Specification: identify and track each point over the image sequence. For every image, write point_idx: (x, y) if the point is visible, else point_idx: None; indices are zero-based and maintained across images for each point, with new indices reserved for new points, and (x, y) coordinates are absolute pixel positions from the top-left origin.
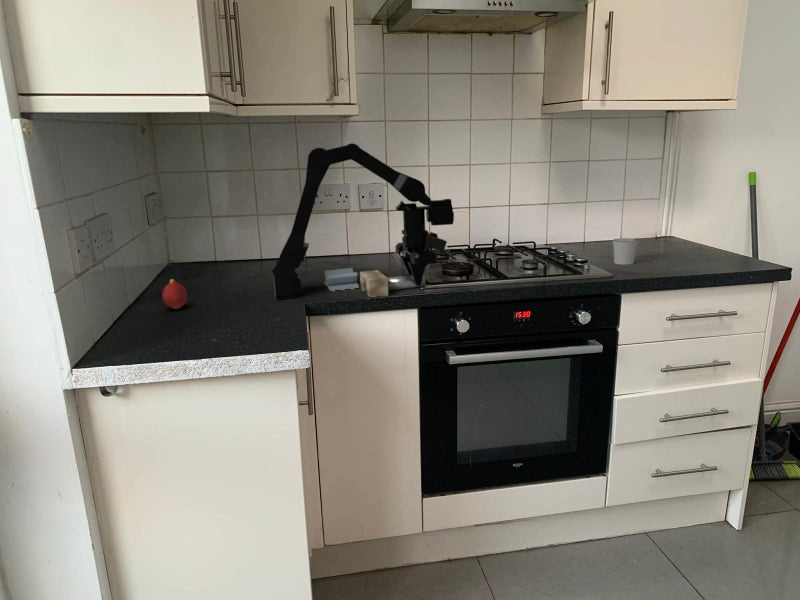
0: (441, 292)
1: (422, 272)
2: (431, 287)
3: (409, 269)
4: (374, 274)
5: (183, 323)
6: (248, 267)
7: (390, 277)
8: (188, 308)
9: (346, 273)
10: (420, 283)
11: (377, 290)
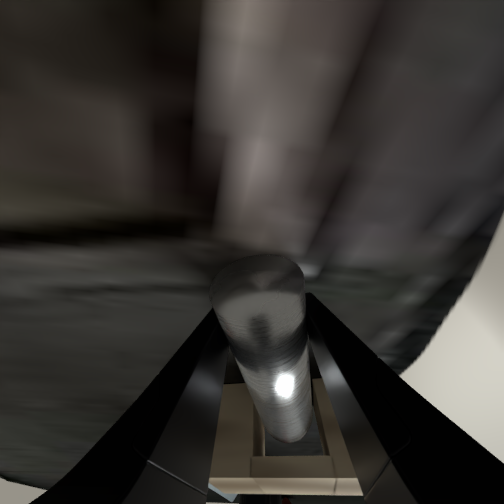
0: (477, 165)
1: (392, 381)
2: (297, 215)
3: (212, 420)
4: (289, 486)
5: (347, 496)
6: (54, 477)
7: (284, 432)
8: (284, 494)
9: (217, 492)
10: (316, 299)
11: None
